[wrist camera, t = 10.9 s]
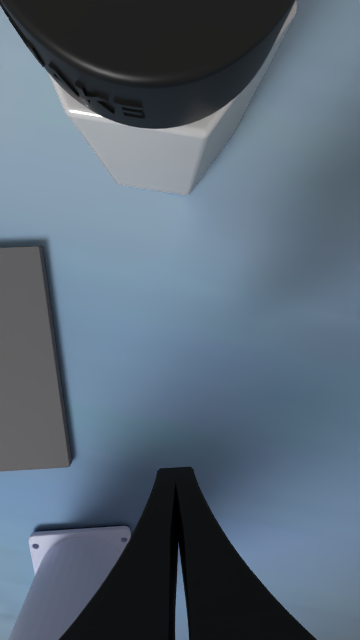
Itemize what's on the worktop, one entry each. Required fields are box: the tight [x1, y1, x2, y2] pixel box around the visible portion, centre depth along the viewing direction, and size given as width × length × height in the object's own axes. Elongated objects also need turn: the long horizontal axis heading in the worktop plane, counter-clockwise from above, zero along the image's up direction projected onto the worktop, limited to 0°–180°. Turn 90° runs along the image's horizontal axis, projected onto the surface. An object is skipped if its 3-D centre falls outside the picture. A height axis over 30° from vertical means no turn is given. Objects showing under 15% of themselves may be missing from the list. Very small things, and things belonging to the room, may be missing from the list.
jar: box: [0, 0, 298, 195], centre depth 12 cm, size 9×8×12 cm
